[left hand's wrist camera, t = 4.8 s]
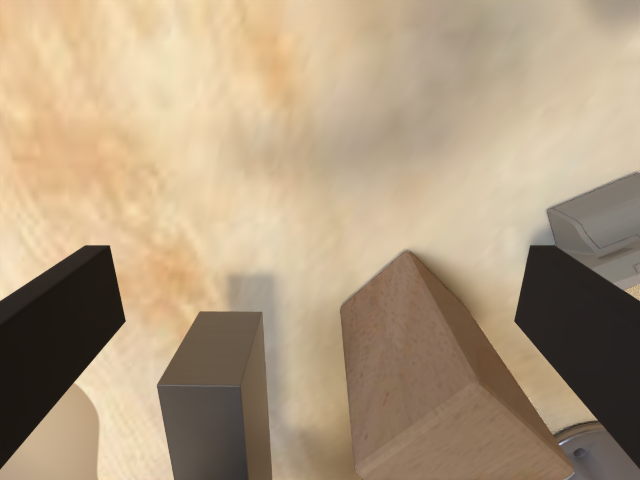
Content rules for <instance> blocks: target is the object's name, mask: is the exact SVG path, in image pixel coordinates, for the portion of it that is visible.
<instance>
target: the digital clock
mask: <svg viewBox="0 0 640 480" xmlns="http://www.w3.org/2000/svg"><path fill="white" fill-rule="evenodd" d="M547 212H548V217H549V220H550V224H551V228H552V231H553V235H554V239H555V242H556V246H557V247H558V248H559V249H561V250H562V251H564V252H566V253H567V254H569V255H570V256H572V257H573V258H575V259H576V260H578V261H579V262H581V263H582V264H584V265H585V266H587V267H588V268H590V269H591V270H593V271H595V272H596V273H598V274H599V275H601V276H602V277H604V278H605V279H607V280H608V281H610V282H611V283H613V284H614V285H616V286H617V287H619V288H620V289H622V290H625V289H628V288H630V287H633V286H636V285H638V284H640V173H636V174H634V175H631V176H629V177H626V178H624V179H622V180H619V181H617V182H614V183H612V184H610V185H607V186H605V187H602V188H600V189H597V190H595V191H593V192H590V193H588V194H585V195H583V196H581V197H578V198H576V199H573V200H571V201H569V202H566V203H564V204H561V205H559V206H557V207H554V208H552V209H549V210H548V211H547Z"/></svg>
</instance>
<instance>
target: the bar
mask: <svg viewBox="0 0 640 480" xmlns="http://www.w3.org/2000/svg"><path fill="white" fill-rule="evenodd" d="M157 388H158V394H159V399H160V405H161V410H162V416H163V421H164V426H165V432H166V437H167V443H168V448H169V454H170V459H171V464H172V470H173V475H174V480H272V466H271V450H270V433H269V417H268V400H267V384H266V367H265V351H264V334H263V318H262V312H199V314H198V315H197V317H196V319H195V321H194V322H193V324H192V326H191V327H190V329H189V331H188V333H187V334H186V336H185V338H184V339H183V341H182V343H181V345H180V346H179V348H178V350H177V351H176V353H175V355H174V357H173V358H172V360H171V362H170V363H169V365H168V367H167V369H166V370H165V372H164V374H163V375H162V377H161V379H160V381H159V382H158V384H157Z"/></svg>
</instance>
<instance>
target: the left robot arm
mask: <svg viewBox="0 0 640 480" xmlns="http://www.w3.org/2000/svg"><path fill="white" fill-rule="evenodd" d="M125 321H126V320H125V316H124V311H123V306H122V301H121V297H120V292H119V287H118V282H117V278H116V273H115V268H114V263H113V258H112V254H111V249H110V245H85V246H84V247H82V248H81V249H79V250H78V251H76V252H74V253H73V254H71V255H70V256H68V257H67V258H65V259H64V260H62V261H61V262H59V263H58V264H56V265H55V266H53V267H52V268H50V269H49V270H47V271H45V272H44V273H42V274H41V275H39V276H38V277H36V278H35V279H33V280H32V281H30V282H29V283H27V284H26V285H24V286H23V287H21V288H20V289H18V290H16V291H15V292H13V293H12V294H10V295H9V296H7V297H6V298H4V299H3V300H1V301H0V469H1V468H2V467H3V466H4V464H5V463H6V462H7V461H8V460H9V458H10V457H11V456H12V455H13V454H14V453H15V451H16V450H17V449H18V448H19V447H20V446H21V444H22V443H23V442H24V441H25V440H26V438H27V437H28V436H29V435H30V434H31V432H32V431H33V430H34V429H35V428H36V427H37V425H38V424H39V423H40V422H41V421H42V420H43V418H44V417H45V416H46V415H47V414H48V412H49V411H50V410H51V409H52V408H53V406H54V405H55V404H56V403H57V402H58V401H59V399H60V398H61V397H62V396H63V395H64V394H65V392H66V391H67V390H68V389H69V388H70V386H71V385H72V384H73V383H74V382H75V381H76V379H77V378H78V377H79V376H80V375H81V373H82V372H83V371H84V370H85V369H86V368H87V366H88V365H89V364H90V363H91V362H92V360H93V359H94V358H95V357H96V356H97V355H98V353H99V352H100V351H101V350H102V349H103V347H104V346H105V345H106V344H107V343H108V342H109V340H110V339H111V338H112V337H113V336H114V334H115V333H116V332H117V331H118V330H119V329H120V327H121V326H122V325H123V324H124V323H125ZM514 321H515V323H516V324H517V325H518V326H519V327H520V329H521V330H522V331H523V332H524V333H525V334H526V336H527V337H528V338H529V339H530V340H531V342H532V343H533V344H534V345H535V346H536V347H537V349H538V350H539V351H540V352H541V353H542V355H543V356H544V357H545V358H546V359H547V360H548V362H549V363H550V364H551V365H552V366H553V368H554V369H555V370H556V371H557V372H558V373H559V375H560V376H561V377H562V378H563V379H564V381H565V382H566V383H567V384H568V385H569V386H570V388H571V389H572V390H573V391H574V392H575V394H576V395H577V396H578V397H579V398H580V399H581V401H582V402H583V403H584V404H585V405H586V407H587V408H588V409H589V410H590V411H591V412H592V414H593V415H594V416H595V417H596V418H597V420H598V421H599V422H600V423H601V424H602V425H603V427H604V428H605V429H606V430H607V431H608V433H609V434H610V435H611V436H612V437H613V438H614V440H615V441H616V442H617V443H618V444H619V446H620V447H621V448H622V449H623V450H624V451H625V453H626V454H627V455H628V456H629V457H630V459H631V460H632V461H633V462H634V463H635V464H636V466H637V467H638V468H639V469H640V301H639V300H637V299H636V298H634V297H633V296H631V295H630V294H628V293H627V292H625V291H624V290H622V289H620V288H619V287H617V286H616V285H614V284H613V283H611V282H610V281H608V280H607V279H605V278H604V277H602V276H601V275H599V274H598V273H596V272H595V271H593V270H591V269H590V268H588V267H587V266H585V265H584V264H582V263H581V262H579V261H578V260H576V259H575V258H573V257H572V256H570V255H569V254H567V253H566V252H564V251H562V250H561V249H559V248H558V247H556V246H555V245H530V249H529V254H528V258H527V263H526V268H525V273H524V278H523V282H522V287H521V292H520V297H519V301H518V306H517V311H516V316H515V320H514Z"/></svg>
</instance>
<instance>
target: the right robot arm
mask: <svg viewBox="0 0 640 480" xmlns="http://www.w3.org/2000/svg"><path fill="white" fill-rule="evenodd" d="M554 438H555V439H556V441H557V442H558V444H559V445H560V447H561V448H562V449H563V451H564V452H565V454H566V455H567V457H568V458H569V460H570V461H571V463H572V466H573V470H574V472H573V473H572V474H571V475H570V476H569V477H567V478H565V479H563V480H640V469H639V468H638V467H637V466H636V464H635V463H634V462H633V461H632V460H631V459H630V457H629V456H628V455H627V454H626V453H625V451H624V450H623V449H622V448H621V447H620V446H619V444H618V443H617V442H616V441H615V440H614V438H613V437H612V436H611V435H610V434H609V433H608V431H607V430H606V429H605V428H604V427H603V425H602V424H601V423H600V422H592V423H586V424H581V425H578V426H575V427H572V428H569V429H567V430H564V431H562V432H560V433H559V434H557V435H555V436H554Z"/></svg>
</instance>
